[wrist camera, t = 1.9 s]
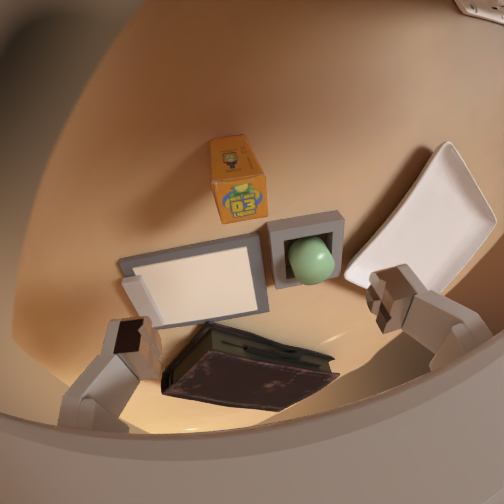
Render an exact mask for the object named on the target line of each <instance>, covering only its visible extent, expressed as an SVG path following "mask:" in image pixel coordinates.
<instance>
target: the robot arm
mask: <svg viewBox="0 0 504 504" xmlns="http://www.w3.org/2000/svg"><path fill="white" fill-rule="evenodd" d="M454 1H455V3H456V4H457V6H458V8H459V9H460V10H461V12H462V13H464V14H466V15H470V16H474V17H478V18H482V19H486V20H490V21H493V22H496V23H500V24H503V25H504V0H454ZM369 282H370V283H371V285H370V286H369V287H368V288H367V292H366V300H367V305H368V308H369V309H370V311H371V313H373V314H375V315H377V318H376V322H377V324H378V326H379V328H380V330H381V332H382V333H383V334H385V333H388V332H392V331H395V330H398V329H401V328H402V330H403V331H404V332H406V333H407V334H409V335H410V336H411V337H413V338H414V339H416V340H417V341H418V342H420V343H421V344H422V345H424V346H425V347H427V348H428V349H429V350H431V351H432V352H434V353H435V354H436V355H435V356H434V358H433V360H432V361H431V362H430V365H429V367H430V369H431V372H429V373H427V374H425V375H423V376H420V377H418V378H416V379H414V380H412V381H409V382H407V383H404V384H402V385H400V386H397V387H395V388H392V389H390V390H387V391H384V392H382V393H379V394H376V395H373V396H371V397H368V398H365V399H362V400H359V401H356V402H353V403H350V404H347V405H343V406H340V407H337V408H333V409H330V410H326V411H322V412H319V413H315V414H311V415H307V416H302V417H298V418H294V419H289V420H284V421H279V422H274V423H269V424H264V425H257V426H251V427H244V428H237V429H229V430H220V431H209V432H196V433H178V434H131V433H129V427H128V425H127V424H125V423H124V422H122V421H121V420H120V419H118V417H119V416H120V414H121V412H122V411H123V409H124V407H125V406H126V404H127V402H128V401H129V399H130V397H131V396H132V394H133V392H134V391H135V389H136V388H137V386H138V384H139V383H140V381H141V380H152V379H160V370H161V363H160V362H159V360H158V358H159V357H160V355H161V354H162V343H161V338H160V335H159V333H158V331H157V330H156V329H154V328H152V321H151V319H150V318H149V316H140V317H131V318H122V319H114V320H111V321H110V322H109V324H108V327H107V331H106V335H105V339H104V343H103V347H102V351H101V355H97V356H96V358H95V359H94V360H93V361H92V362H91V363H90V365H89V366H88V367H87V368H86V369H85V370H84V371H83V373H82V374H81V375H80V376H79V377H78V379H77V380H76V381H75V382H74V383H73V384H72V386H71V387H70V388H69V389H68V391H67V392H66V393H65V394H64V395H63V398H62V402H61V407H60V412H59V418H58V424H57V426H55V425H50V424H45V423H40V422H36V421H31V420H27V419H23V418H19V417H15V416H11V415H8V414H5V413H1V412H0V504H504V330H503V331H501V332H500V333H499V334H497V335H495V336H493V335H492V333H491V332H490V330H489V329H488V328H487V326H486V325H485V323H484V322H483V320H482V319H481V318H480V316H479V315H478V313H476V312H474V311H472V310H470V309H468V308H466V307H464V306H462V305H460V304H458V303H456V302H454V301H452V300H450V299H448V298H446V297H445V296H443V295H440V294H438V293H436V292H434V291H432V290H429V291H428V290H427V288H426V287H425V286H424V285H423V283H422V282H421V281H420V279H419V278H418V277H417V276H416V274H415V273H414V272H413V271H412V269H411V268H410V267H409V266H408V265H407V264H401V265H397V266H394V267H390V268H386V269H382V270H378V271H374V272H372V273H371V274H370V276H369Z"/></svg>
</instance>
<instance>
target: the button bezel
mask: <svg viewBox="0 0 504 504" xmlns="http://www.w3.org/2000/svg"><path fill="white" fill-rule="evenodd" d="M344 221H345V219H344V218H343V217H342V215H341V214H340V213H339V212H338V210H336V211H330V212H324V213H318V214H312V215H306V216H300V217H294V218H288V219H282V220H276V221H271V222H266V224H267V232H268V241H269V249H270V258H271V267H272V275H273V281H274V284H275V288H276V290H277V289H282V288H287V287H292V286H297V285H302V283H300V282H299V281H297V279H296V277H295V275H294V272H293V270H292V267H288V268H286V267H285V254H284V241H285V240H290V239H296V238H301V237H307V236H312V235H318V234H323V233H326V247H327V248H328V250H329V252H330V254H331V255H332V257H333V259H334V262H335V267H334V270H333V272H332V274H331V275H330V276H329V277H328V278H327V279H330V278H335V277H339V276H340V273H341V263H342V251H343V237H344Z"/></svg>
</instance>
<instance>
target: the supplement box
mask: <svg viewBox="0 0 504 504" xmlns="http://www.w3.org/2000/svg"><path fill="white" fill-rule="evenodd" d="M210 161H211V182H210V183H211V188H212V191H213V195H214V198H215V202H216V205H217V209H218V212H219V216H220V219H221V221H222V224H228V223H233V222H239V221H244V220H250V219H256V218H262V217H267V216H268V206H267V191H266V177H265V173H264V172H263V170H262V168H261V166H260V164H259V162H258V161H257V159H256V157H255V155H254V153H253V151H252V149H251V147H250V145H249V143H248V141H247V139H246V137H245V135H236V136H229V137H223V138H218V139H212V140H210Z"/></svg>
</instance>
